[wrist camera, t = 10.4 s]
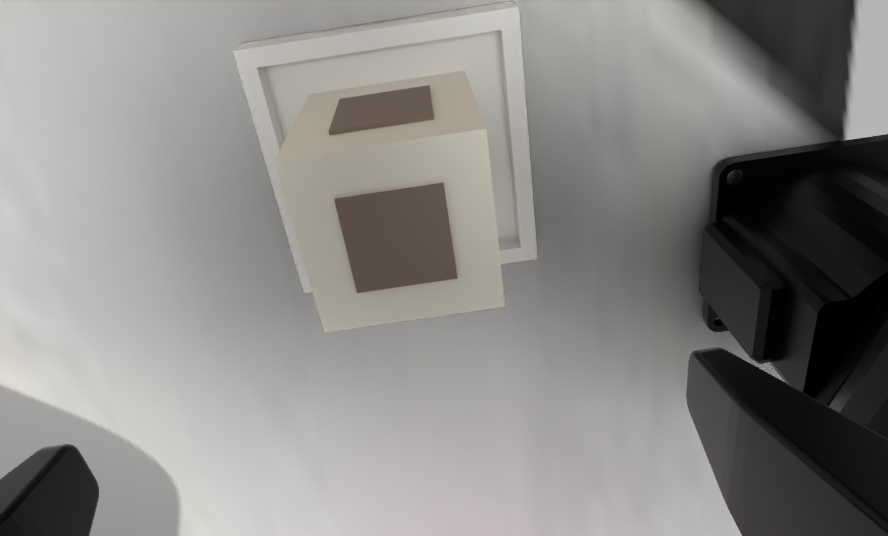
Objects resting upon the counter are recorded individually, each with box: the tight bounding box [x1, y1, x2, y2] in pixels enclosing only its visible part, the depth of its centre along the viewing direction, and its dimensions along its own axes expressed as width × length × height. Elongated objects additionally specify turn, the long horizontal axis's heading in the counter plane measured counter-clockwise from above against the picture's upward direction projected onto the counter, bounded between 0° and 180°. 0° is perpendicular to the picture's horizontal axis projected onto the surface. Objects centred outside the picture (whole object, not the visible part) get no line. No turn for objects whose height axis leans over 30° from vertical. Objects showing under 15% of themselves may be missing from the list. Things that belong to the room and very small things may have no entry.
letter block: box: [275, 70, 505, 333], centre depth 17 cm, size 4×5×6 cm
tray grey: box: [233, 1, 538, 293], centre depth 19 cm, size 8×8×1 cm
